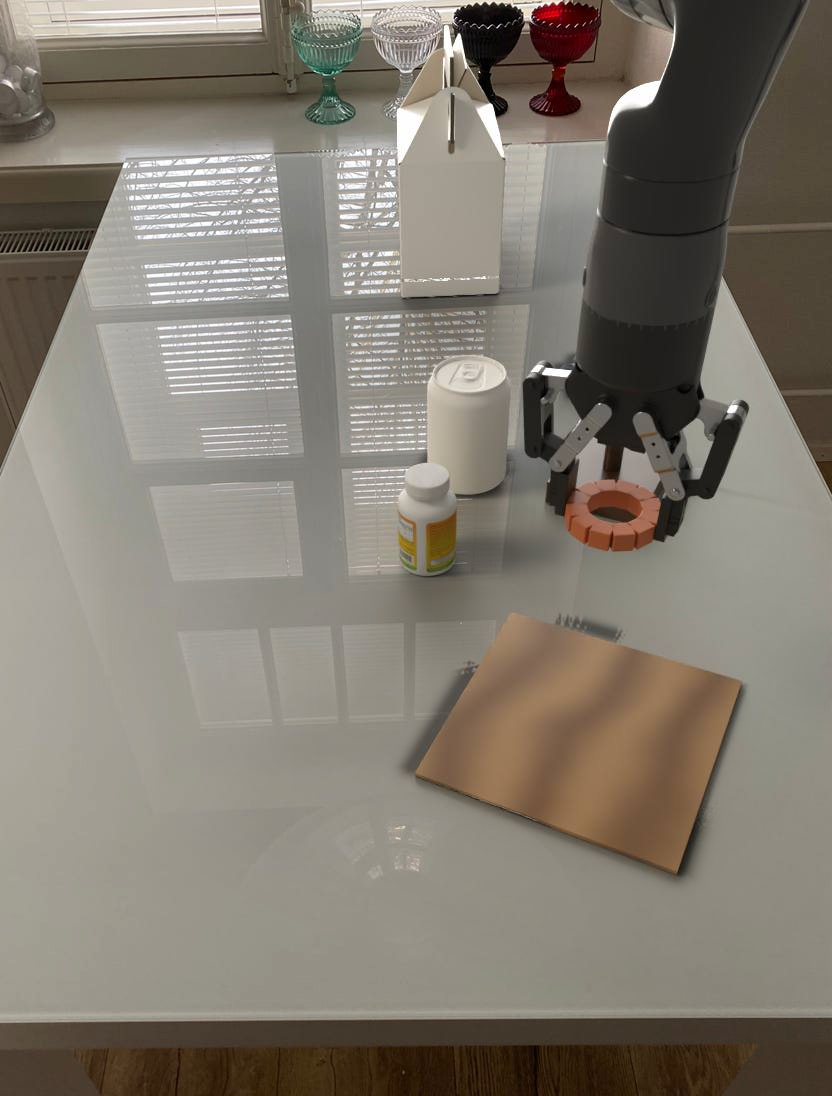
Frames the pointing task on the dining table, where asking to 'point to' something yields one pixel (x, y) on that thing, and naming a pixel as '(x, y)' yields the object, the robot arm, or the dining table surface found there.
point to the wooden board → (587, 738)
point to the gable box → (449, 180)
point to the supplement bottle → (427, 520)
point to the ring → (605, 532)
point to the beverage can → (469, 422)
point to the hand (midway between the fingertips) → (612, 521)
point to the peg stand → (615, 473)
